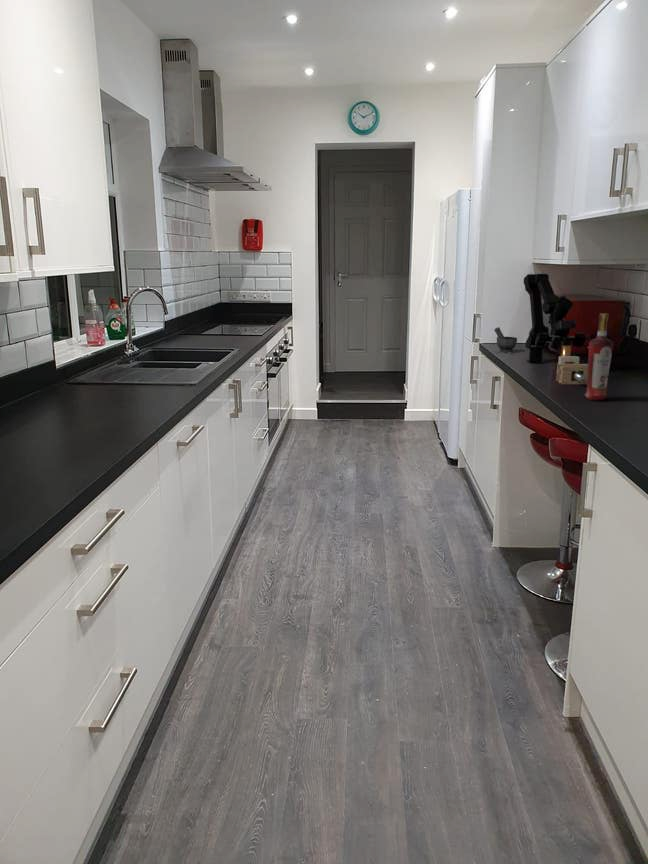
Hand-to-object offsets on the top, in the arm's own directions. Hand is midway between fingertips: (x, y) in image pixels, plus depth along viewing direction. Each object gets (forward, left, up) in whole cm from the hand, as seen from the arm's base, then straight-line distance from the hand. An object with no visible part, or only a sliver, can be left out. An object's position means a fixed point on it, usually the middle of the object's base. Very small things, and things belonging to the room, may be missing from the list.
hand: (563, 357), depth 261 cm
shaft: (+12, 0, -7) cm, 14 cm away
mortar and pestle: (-63, -9, -8) cm, 64 cm away
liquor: (+44, -2, -7) cm, 44 cm away
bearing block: (+14, 0, -7) cm, 16 cm away
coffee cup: (-12, +18, -7) cm, 23 cm away
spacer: (+6, 0, -7) cm, 10 cm away
